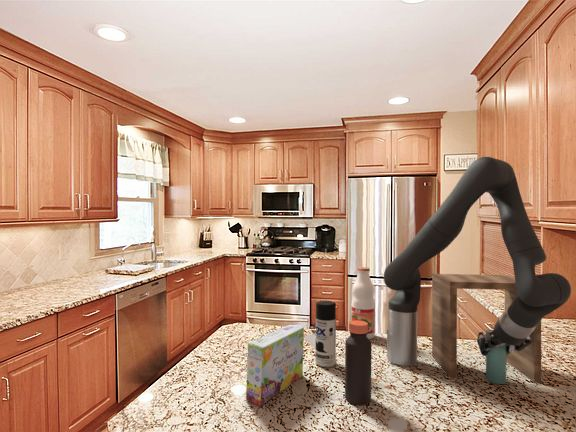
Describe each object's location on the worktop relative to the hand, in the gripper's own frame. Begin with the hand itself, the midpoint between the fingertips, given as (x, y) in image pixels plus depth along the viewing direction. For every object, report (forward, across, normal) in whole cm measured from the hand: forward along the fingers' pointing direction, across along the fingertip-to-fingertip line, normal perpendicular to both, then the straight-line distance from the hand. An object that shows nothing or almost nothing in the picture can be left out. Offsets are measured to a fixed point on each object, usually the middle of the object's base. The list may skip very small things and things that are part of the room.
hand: (492, 353), depth 104 cm
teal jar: (+4, 0, +6) cm, 7 cm away
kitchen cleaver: (+27, +54, -16) cm, 63 cm away
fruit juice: (+30, +34, -19) cm, 49 cm away
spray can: (+9, +50, +1) cm, 51 cm away
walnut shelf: (+10, 0, +1) cm, 10 cm away
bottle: (-6, +42, +17) cm, 46 cm away
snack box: (-3, +64, +14) cm, 66 cm away
